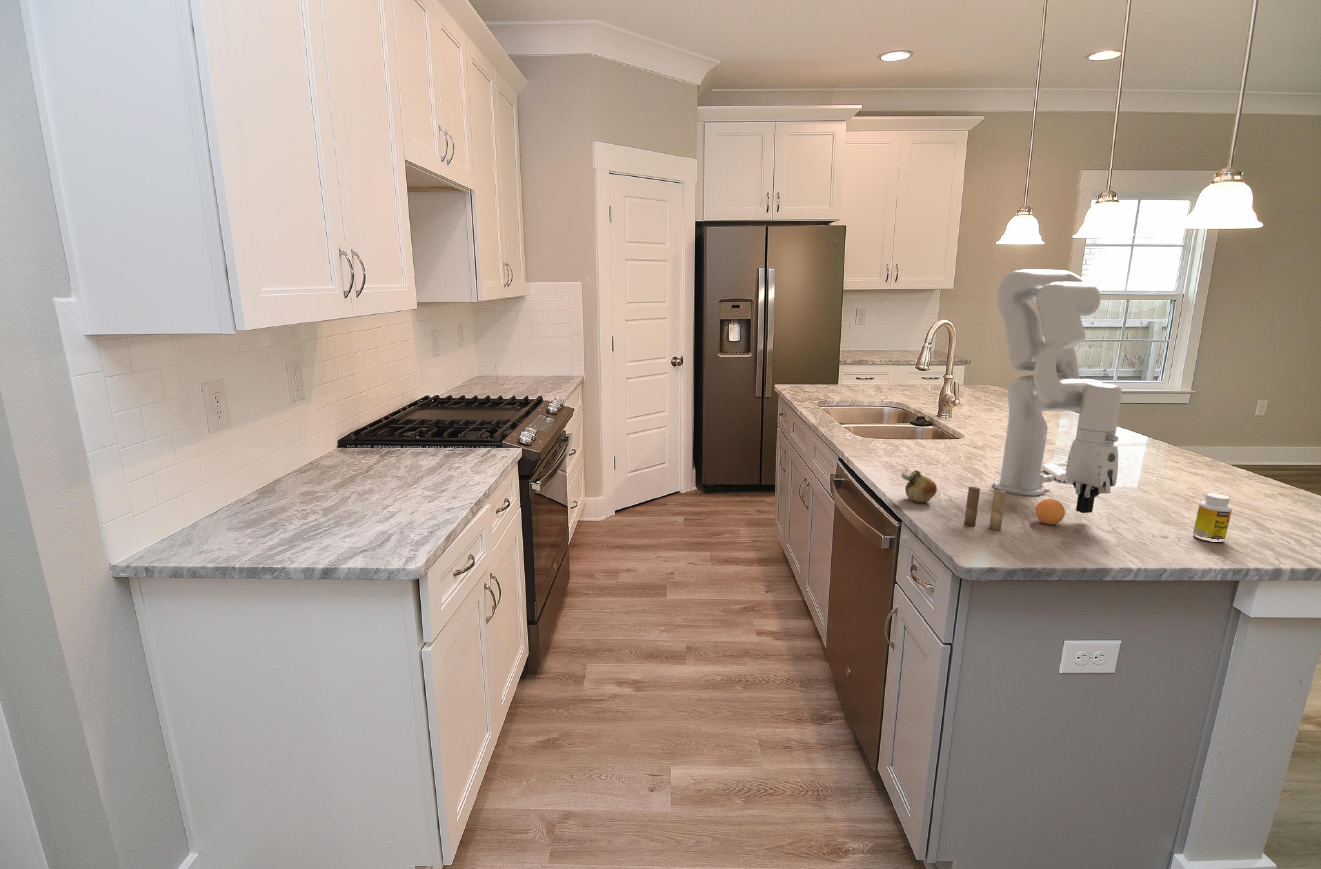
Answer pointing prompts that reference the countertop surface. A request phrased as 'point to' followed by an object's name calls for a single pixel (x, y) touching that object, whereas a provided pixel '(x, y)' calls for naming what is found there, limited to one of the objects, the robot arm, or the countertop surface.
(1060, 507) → the ball
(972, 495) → the walnut pin
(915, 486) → the onion
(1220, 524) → the supplement bottle
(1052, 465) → the white egg tray
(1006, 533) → the countertop surface
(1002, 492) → the maple pin
